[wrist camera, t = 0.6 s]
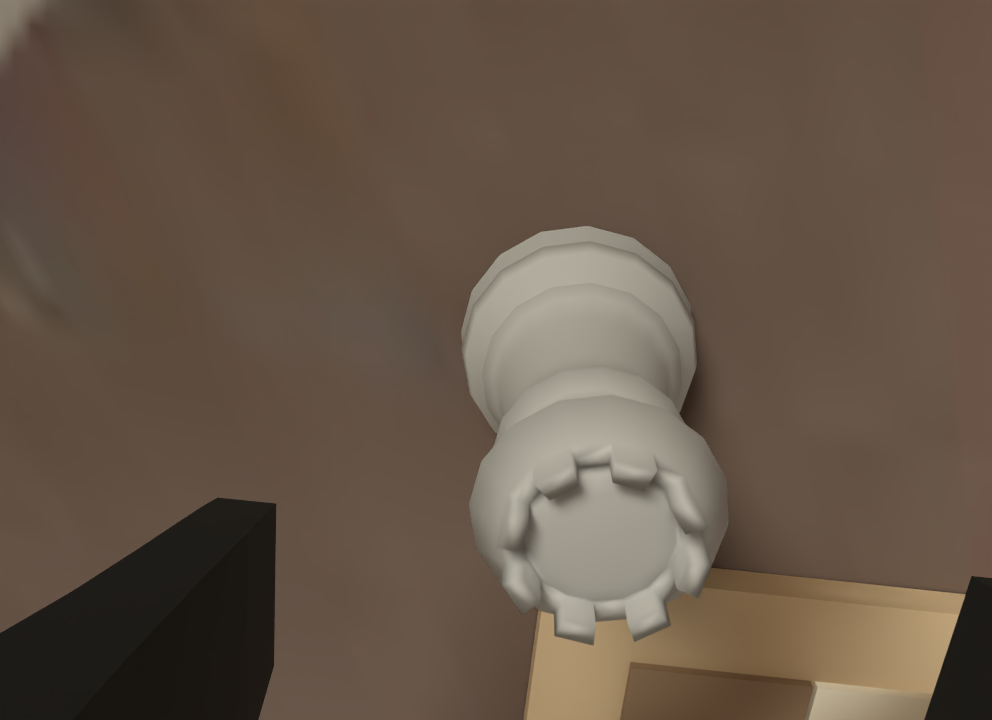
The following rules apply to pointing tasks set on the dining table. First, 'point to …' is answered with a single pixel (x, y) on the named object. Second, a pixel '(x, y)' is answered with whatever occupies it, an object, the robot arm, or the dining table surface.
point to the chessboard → (754, 655)
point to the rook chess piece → (590, 433)
